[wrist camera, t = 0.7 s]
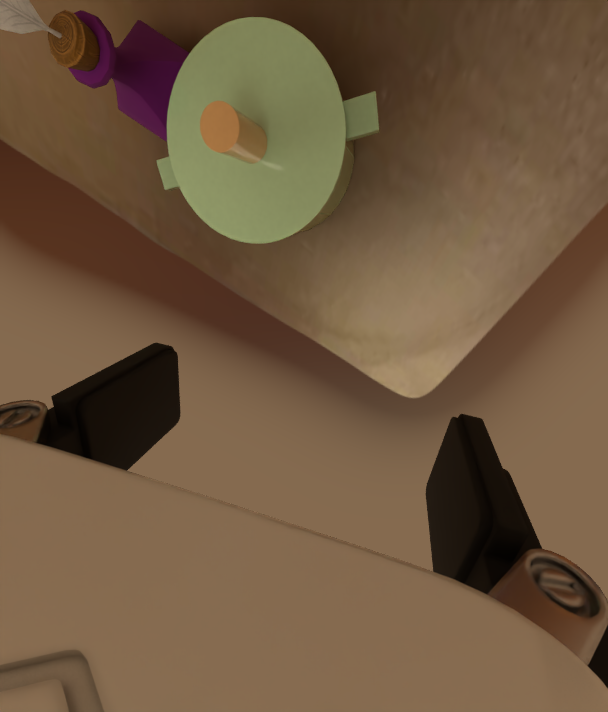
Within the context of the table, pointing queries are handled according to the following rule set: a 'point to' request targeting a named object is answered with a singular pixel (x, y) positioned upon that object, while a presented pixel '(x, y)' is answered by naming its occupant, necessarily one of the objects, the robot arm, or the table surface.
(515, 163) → the table surface
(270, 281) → the table surface
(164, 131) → the purple potion bottle
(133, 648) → the robot arm
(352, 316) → the table surface
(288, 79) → the lid
